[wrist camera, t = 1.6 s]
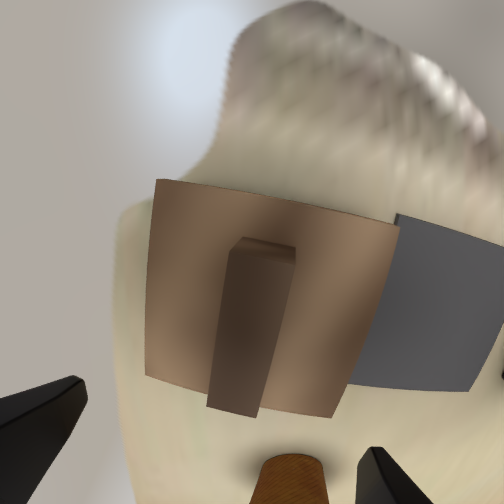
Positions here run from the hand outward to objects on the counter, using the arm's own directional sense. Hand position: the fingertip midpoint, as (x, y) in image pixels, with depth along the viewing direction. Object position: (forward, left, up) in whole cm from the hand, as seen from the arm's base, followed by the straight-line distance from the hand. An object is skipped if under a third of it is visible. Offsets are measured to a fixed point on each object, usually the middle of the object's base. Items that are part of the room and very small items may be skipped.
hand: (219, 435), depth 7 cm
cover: (0, 0, -9) cm, 9 cm away
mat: (-14, 0, -13) cm, 19 cm away
